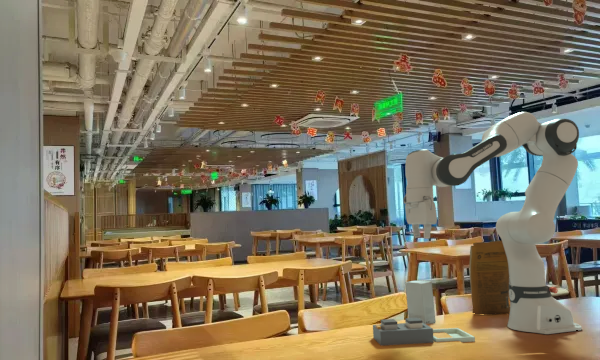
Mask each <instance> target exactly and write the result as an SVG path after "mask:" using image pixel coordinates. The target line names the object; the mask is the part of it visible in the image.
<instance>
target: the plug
mask: <svg viewBox="0 0 600 360" xmlns="http://www.w3.org/2000/svg"><path fill="white" fill-rule="evenodd" d="M404 320H405V322H404V323H406V327H408V328H423V324H422V320H421V319H419V318H408V317H407V318H405V319H404Z"/></svg>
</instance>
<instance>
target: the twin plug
mask: <svg viewBox="0 0 600 360" xmlns="http://www.w3.org/2000/svg"><path fill="white" fill-rule="evenodd" d="M380 324H381V329H383V330H390V329H398V325H397V324H398V321H397V320H396V319H394V318H389V319H386V318H385V319H380Z"/></svg>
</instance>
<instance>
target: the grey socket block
mask: <svg viewBox="0 0 600 360" xmlns="http://www.w3.org/2000/svg"><path fill="white" fill-rule="evenodd" d="M422 324H423V328H408V327H406V322H403V323H402V322H401V323H397V325H398V329H390V330H383V329H381V323H380V324H373V325H372V335H373V339H374V340H375V341H376V342H377V343H378V344H379V345H380V346H382V347H383V346H395V345H413V344H415V345H416V344H417V345H418V344H433V343H434V342H435V341H434V340H433V336H434V333H433V328H434V327H433V328H432V327H431V326H429V325H428V324H424V323H423V322H422Z"/></svg>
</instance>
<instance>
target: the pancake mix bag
mask: <svg viewBox="0 0 600 360" xmlns="http://www.w3.org/2000/svg"><path fill="white" fill-rule="evenodd" d="M469 248H470V249H469V250H470V251H469V263H468V264H469V267H468V268H469V271H468V272H469V281H470V285H469V286H470V292H471V293H470V294H471V295H470V296H471V304H472V311H471V313H475V314H492V315H499V313H507V314H510V313H509V312H510V299H509V284H510V281H509V268H508V260H507V256H506V252H505V249H504V246H503V243H502V240H493V241H492V240H491V241H483V242H473V243H472V245H470V247H469ZM475 314H474V315H475Z"/></svg>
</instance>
